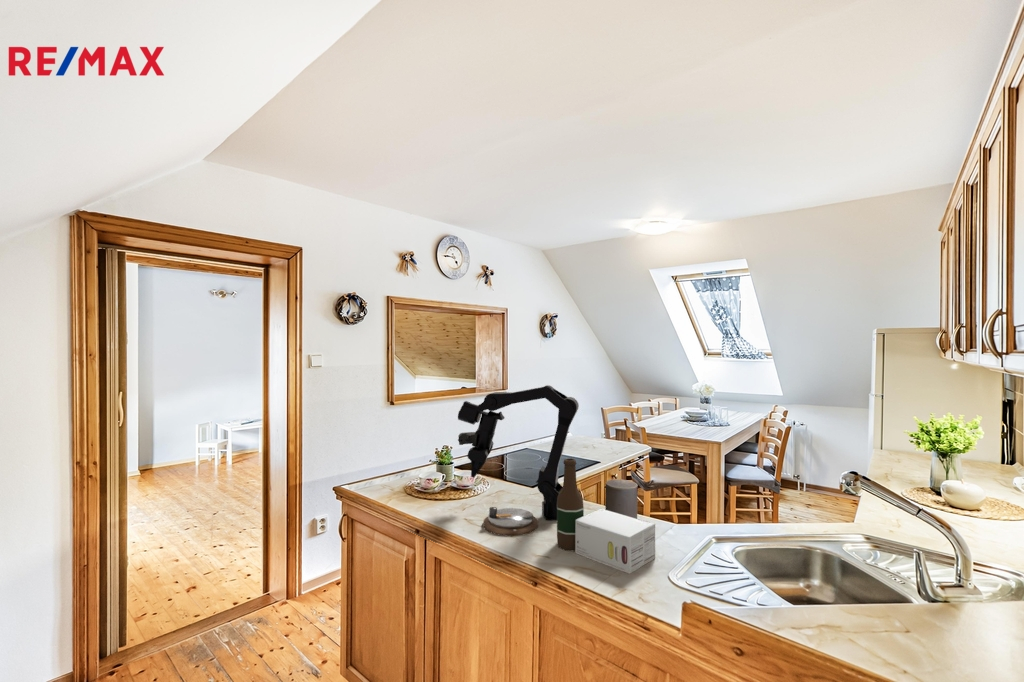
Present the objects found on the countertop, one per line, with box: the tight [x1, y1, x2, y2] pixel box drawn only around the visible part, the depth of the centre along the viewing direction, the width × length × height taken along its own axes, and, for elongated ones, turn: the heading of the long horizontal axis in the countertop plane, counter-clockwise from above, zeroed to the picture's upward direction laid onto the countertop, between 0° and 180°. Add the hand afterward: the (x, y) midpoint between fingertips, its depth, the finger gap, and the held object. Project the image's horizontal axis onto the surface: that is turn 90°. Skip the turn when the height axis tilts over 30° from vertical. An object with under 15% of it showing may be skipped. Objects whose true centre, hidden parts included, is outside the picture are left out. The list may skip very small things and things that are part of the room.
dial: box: [487, 506, 534, 529], centre depth 151 cm, size 14×14×4 cm
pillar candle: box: [604, 478, 639, 519], centre depth 148 cm, size 10×10×15 cm
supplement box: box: [574, 508, 656, 574], centre depth 129 cm, size 17×13×9 cm
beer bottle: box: [556, 457, 585, 552], centre depth 135 cm, size 8×8×24 cm
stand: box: [483, 515, 539, 537], centre depth 151 cm, size 17×17×1 cm
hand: (474, 472), depth 164 cm, fingers open, 9 cm apart
